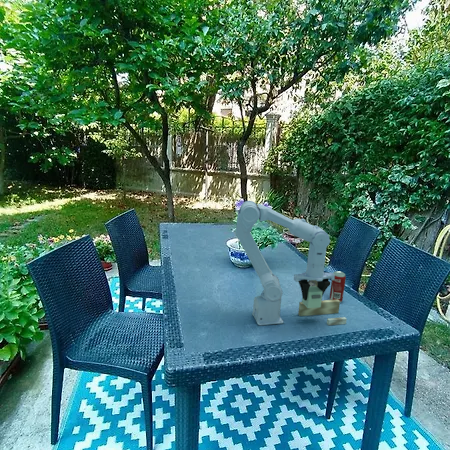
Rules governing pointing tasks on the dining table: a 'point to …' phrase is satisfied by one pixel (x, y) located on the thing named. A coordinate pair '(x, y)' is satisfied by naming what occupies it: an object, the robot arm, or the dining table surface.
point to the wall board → (324, 311)
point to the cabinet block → (313, 297)
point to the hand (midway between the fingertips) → (311, 298)
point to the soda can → (337, 286)
